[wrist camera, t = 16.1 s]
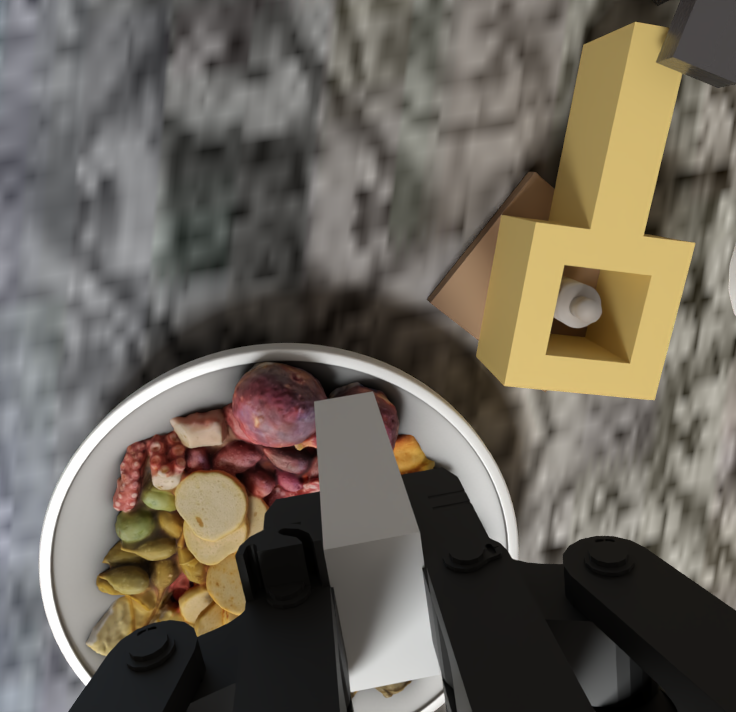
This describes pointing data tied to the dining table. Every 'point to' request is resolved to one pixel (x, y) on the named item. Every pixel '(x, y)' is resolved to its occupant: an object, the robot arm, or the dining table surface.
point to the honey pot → (733, 280)
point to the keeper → (702, 41)
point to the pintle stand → (473, 270)
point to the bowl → (228, 492)
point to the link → (595, 237)
